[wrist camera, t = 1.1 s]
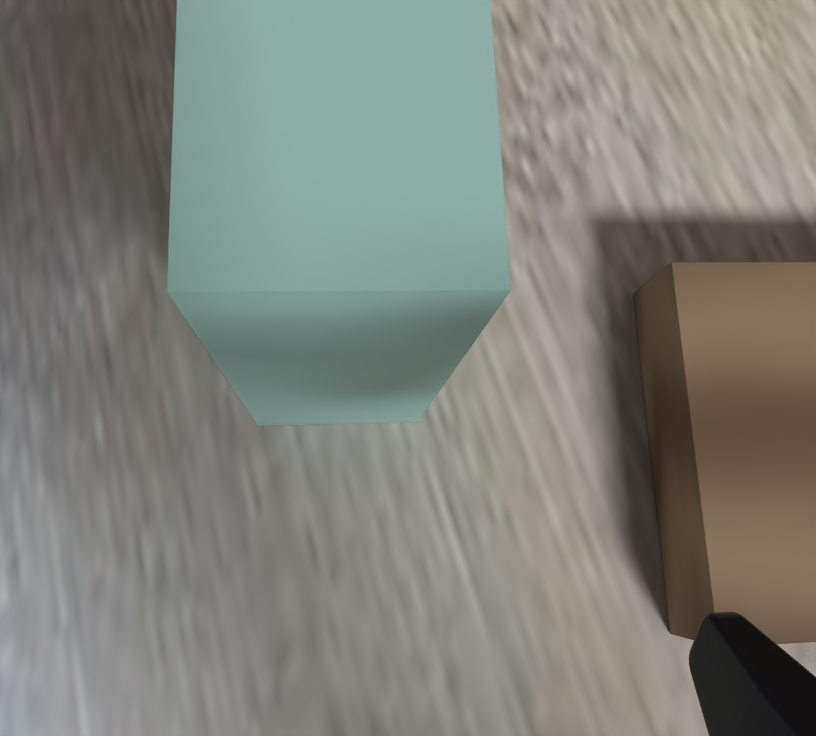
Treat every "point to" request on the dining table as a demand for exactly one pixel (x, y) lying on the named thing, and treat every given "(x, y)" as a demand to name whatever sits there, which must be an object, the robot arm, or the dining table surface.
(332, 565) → the dining table surface
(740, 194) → the dining table surface
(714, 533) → the walnut base
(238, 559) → the dining table surface
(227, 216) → the pillar
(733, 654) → the robot arm
